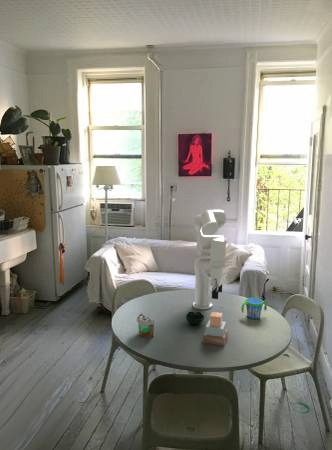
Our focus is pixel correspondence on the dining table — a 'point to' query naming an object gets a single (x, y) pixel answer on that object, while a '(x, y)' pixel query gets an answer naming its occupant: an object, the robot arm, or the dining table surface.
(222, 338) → the walnut slab
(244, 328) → the dining table surface
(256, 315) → the snack cup
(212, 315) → the terracotta cube
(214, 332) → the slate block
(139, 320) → the food container
